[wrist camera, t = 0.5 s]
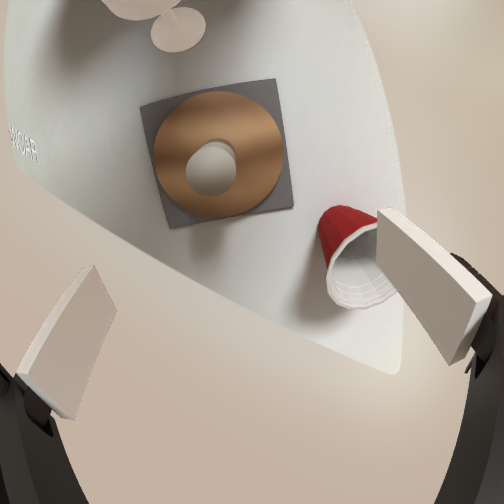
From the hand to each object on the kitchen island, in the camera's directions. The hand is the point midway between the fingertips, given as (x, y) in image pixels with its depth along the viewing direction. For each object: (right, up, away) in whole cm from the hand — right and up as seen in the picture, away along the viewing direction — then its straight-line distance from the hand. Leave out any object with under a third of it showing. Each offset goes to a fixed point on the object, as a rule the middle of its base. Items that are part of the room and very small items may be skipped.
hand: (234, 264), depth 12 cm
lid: (-3, +12, +19) cm, 23 cm away
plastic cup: (+12, +4, +25) cm, 28 cm away
